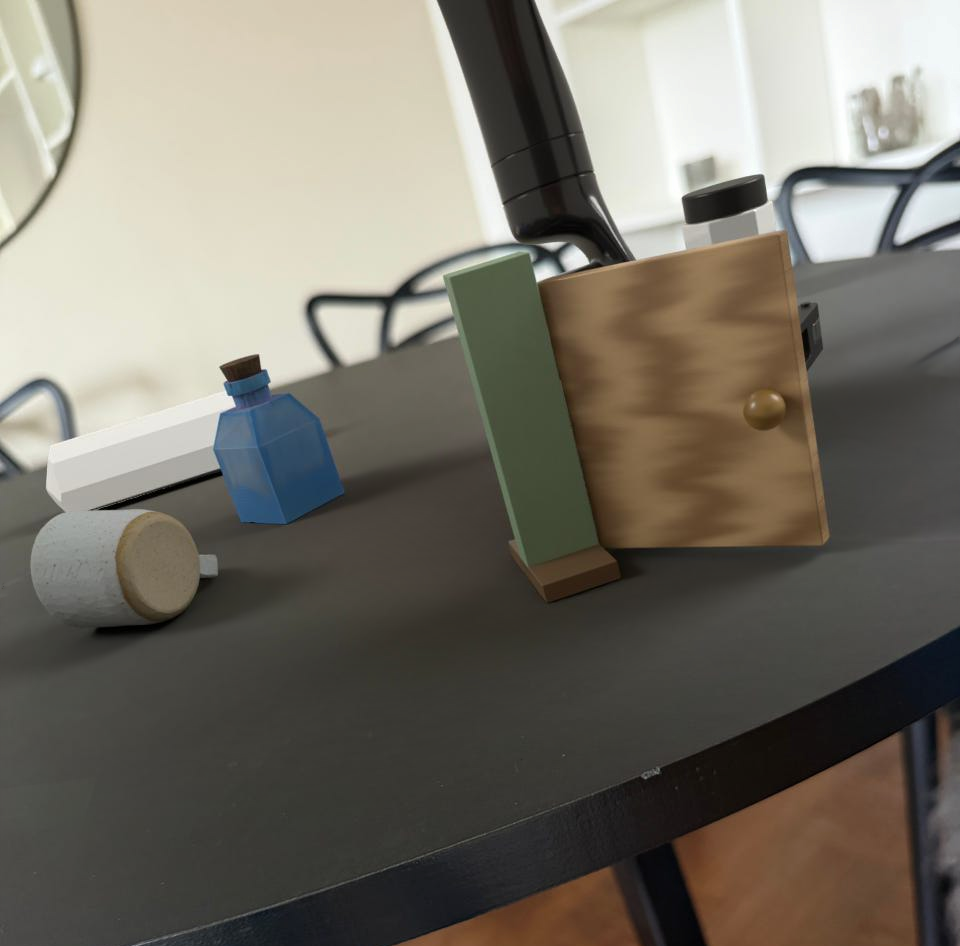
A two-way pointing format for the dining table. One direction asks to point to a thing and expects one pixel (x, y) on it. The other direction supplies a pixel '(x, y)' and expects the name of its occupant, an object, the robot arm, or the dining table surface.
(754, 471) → the door
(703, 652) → the dining table surface
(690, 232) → the jar
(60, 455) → the white beveled bar
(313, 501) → the perfume bottle
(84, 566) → the ceramic mug
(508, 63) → the robot arm
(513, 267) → the door wall
